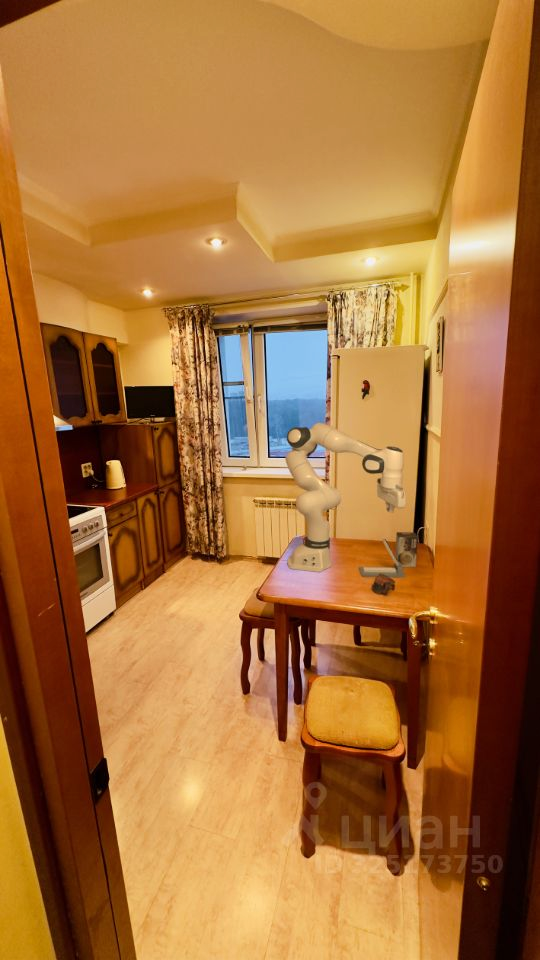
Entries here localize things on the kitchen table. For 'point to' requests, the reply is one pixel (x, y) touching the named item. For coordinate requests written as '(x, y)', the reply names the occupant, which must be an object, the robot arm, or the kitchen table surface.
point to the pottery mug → (386, 584)
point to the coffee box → (406, 549)
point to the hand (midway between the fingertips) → (389, 511)
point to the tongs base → (383, 571)
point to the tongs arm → (390, 552)
